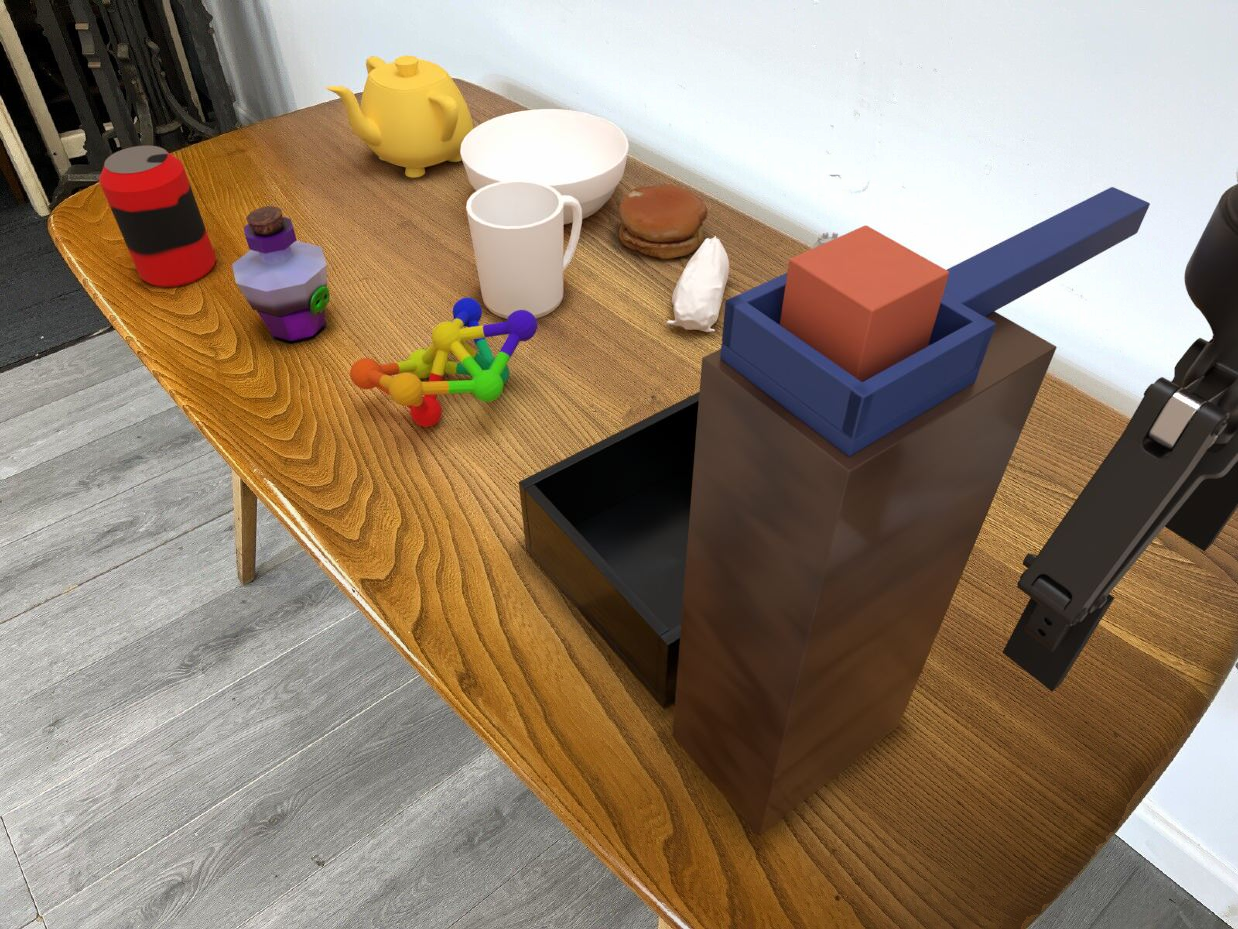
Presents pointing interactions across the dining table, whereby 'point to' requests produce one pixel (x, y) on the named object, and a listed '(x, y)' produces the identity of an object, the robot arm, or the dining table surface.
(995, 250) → the blue long-handled scoop
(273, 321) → the potion bottle
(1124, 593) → the dining table surface
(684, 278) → the white cloth bag
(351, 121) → the teapot
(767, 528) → the stand
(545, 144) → the bowl
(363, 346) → the dining table surface
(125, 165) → the soda can
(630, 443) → the black square open box
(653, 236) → the burger
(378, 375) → the decorative model
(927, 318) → the block
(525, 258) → the mug
